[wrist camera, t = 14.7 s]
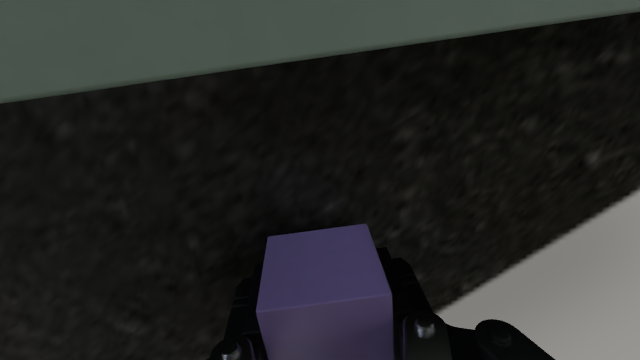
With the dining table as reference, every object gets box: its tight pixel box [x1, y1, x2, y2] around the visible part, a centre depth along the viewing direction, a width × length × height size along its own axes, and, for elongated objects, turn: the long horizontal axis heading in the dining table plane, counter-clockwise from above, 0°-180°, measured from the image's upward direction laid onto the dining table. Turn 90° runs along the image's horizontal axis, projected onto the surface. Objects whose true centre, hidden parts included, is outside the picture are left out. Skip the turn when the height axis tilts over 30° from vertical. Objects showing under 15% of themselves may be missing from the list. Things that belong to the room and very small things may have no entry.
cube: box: [256, 224, 395, 360], centre depth 12 cm, size 4×4×4 cm
